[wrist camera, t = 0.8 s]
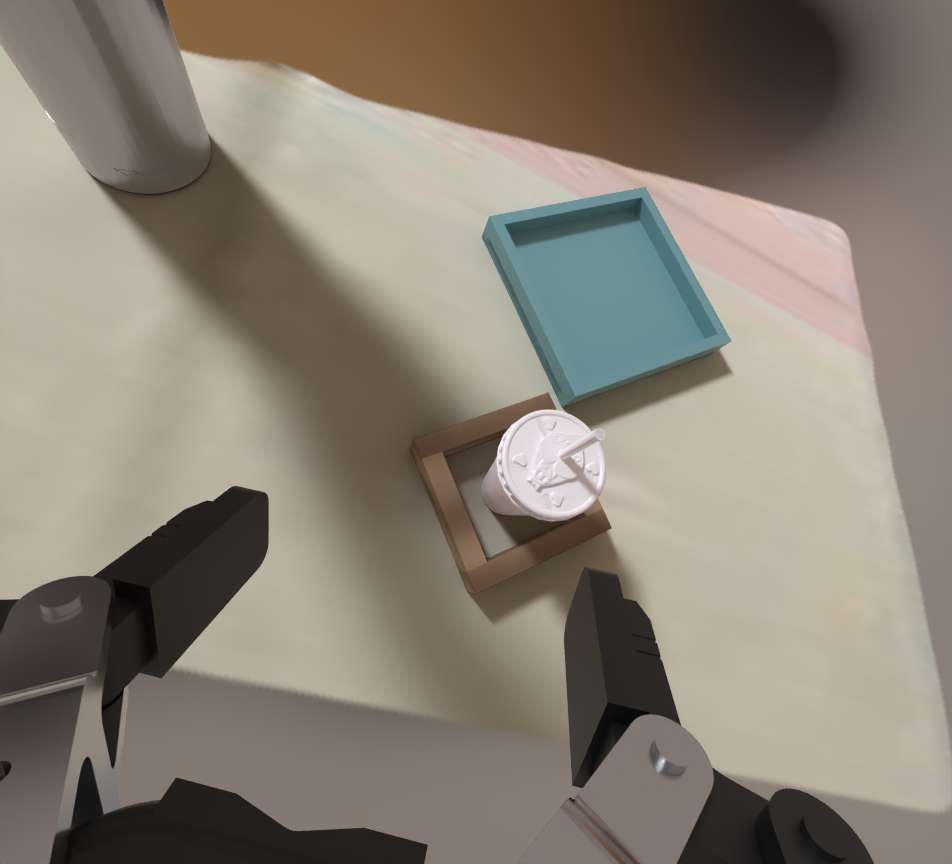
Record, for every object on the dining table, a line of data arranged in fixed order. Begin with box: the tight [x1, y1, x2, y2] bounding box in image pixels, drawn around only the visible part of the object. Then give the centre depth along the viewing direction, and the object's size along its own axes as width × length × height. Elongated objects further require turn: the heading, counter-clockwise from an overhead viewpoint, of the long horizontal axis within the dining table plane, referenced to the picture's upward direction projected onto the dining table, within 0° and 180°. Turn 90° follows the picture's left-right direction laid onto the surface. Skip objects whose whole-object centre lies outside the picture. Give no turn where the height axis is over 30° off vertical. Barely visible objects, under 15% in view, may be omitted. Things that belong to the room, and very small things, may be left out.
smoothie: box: [481, 410, 606, 522], centre depth 28 cm, size 6×6×14 cm
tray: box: [482, 187, 731, 407], centre depth 41 cm, size 17×17×2 cm
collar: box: [410, 393, 611, 594], centre depth 34 cm, size 11×11×2 cm
